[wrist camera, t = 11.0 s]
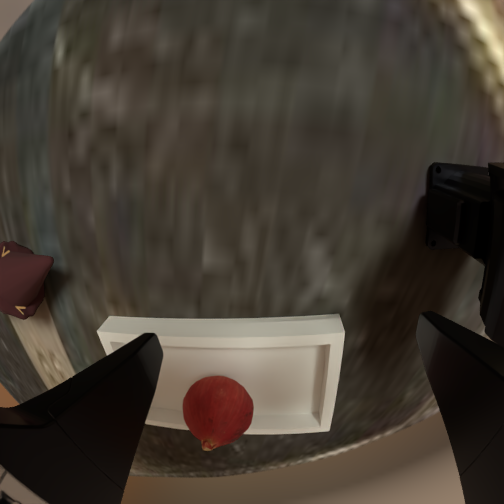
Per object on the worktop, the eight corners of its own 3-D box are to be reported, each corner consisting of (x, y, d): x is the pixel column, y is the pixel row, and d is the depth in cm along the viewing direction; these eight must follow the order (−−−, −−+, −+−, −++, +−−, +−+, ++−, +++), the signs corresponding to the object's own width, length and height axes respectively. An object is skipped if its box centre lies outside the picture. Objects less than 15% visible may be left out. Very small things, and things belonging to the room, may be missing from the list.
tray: (338, 313, 22) (345, 332, 20) (326, 412, 27) (329, 430, 24) (109, 315, 24) (96, 331, 22) (148, 407, 28) (141, 423, 26)
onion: (267, 372, 24) (263, 448, 16) (239, 405, 26) (229, 473, 18) (206, 346, 23) (183, 420, 16) (184, 383, 25) (162, 450, 18)
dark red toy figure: (5, 217, 14) (-38, 267, 18) (32, 321, 15) (-19, 334, 19) (70, 211, 21) (7, 257, 25) (94, 295, 21) (24, 316, 26)
